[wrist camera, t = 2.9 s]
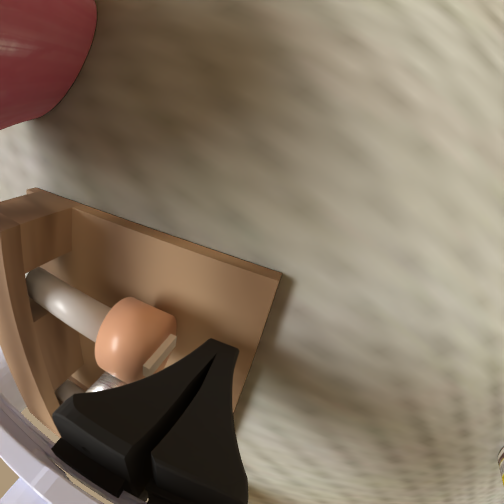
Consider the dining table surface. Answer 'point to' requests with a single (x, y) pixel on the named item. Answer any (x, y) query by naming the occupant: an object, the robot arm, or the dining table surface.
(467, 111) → the dining table surface
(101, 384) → the pot dial
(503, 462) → the supplement bottle
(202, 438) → the robot arm
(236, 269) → the mount
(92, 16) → the plant pot
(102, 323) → the knob terracotta
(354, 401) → the dining table surface
